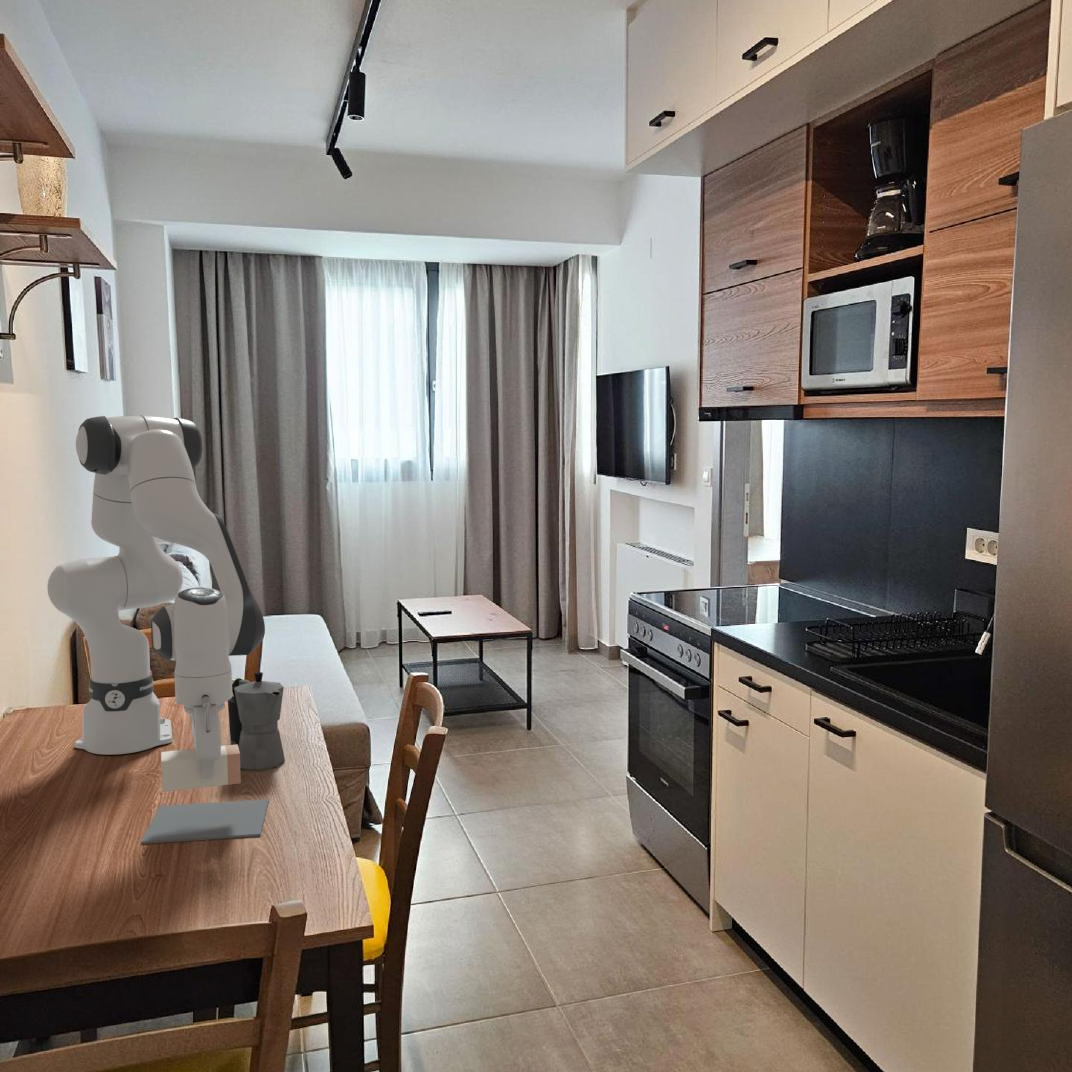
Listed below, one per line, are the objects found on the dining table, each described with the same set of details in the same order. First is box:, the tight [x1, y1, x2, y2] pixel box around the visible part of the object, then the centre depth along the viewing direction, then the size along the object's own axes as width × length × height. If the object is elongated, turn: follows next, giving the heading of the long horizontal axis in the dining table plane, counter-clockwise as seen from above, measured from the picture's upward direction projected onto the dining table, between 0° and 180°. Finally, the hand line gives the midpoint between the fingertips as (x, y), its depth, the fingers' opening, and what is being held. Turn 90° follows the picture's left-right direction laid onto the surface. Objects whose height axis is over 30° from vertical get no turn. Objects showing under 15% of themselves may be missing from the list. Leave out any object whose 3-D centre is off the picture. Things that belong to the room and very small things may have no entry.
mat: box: [140, 798, 270, 845], centre depth 162 cm, size 15×18×1 cm
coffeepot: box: [232, 671, 286, 771], centre depth 191 cm, size 15×9×18 cm, turn 50°
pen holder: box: [227, 695, 242, 747], centre depth 201 cm, size 9×9×10 cm
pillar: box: [160, 744, 242, 793], centre depth 160 cm, size 5×5×12 cm
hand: (206, 771), depth 161 cm, fingers closed on pillar, 5 cm apart
